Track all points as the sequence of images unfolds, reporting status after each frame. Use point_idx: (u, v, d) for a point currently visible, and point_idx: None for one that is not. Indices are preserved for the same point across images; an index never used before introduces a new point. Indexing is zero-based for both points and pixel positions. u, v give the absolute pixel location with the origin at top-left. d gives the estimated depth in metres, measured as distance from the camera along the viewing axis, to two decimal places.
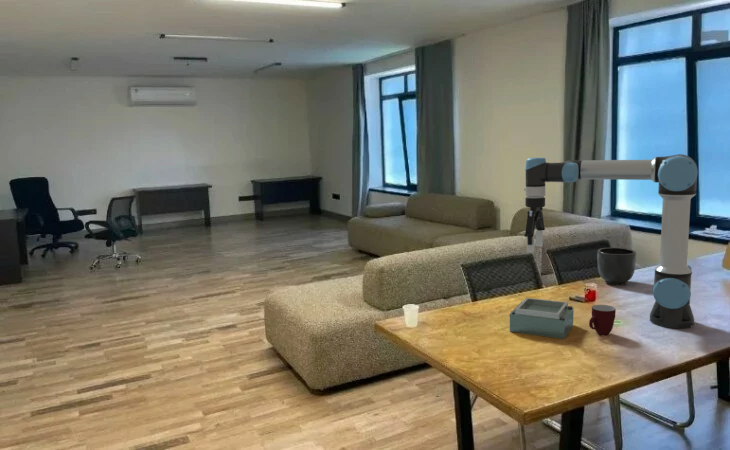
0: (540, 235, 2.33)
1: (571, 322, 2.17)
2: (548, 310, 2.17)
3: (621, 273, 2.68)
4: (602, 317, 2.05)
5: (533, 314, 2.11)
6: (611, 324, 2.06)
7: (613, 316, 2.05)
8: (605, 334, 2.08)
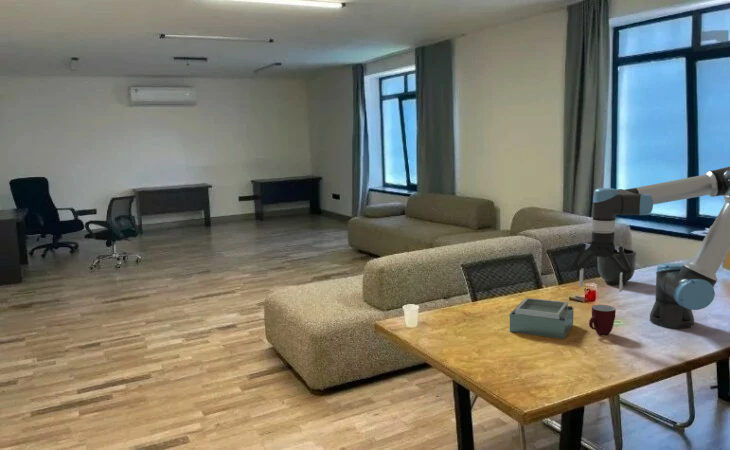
0: (620, 278, 2.03)
1: (571, 322, 2.17)
2: (548, 310, 2.17)
3: None
4: (602, 317, 2.05)
5: (533, 314, 2.11)
6: (611, 324, 2.06)
7: (613, 316, 2.05)
8: (605, 334, 2.08)
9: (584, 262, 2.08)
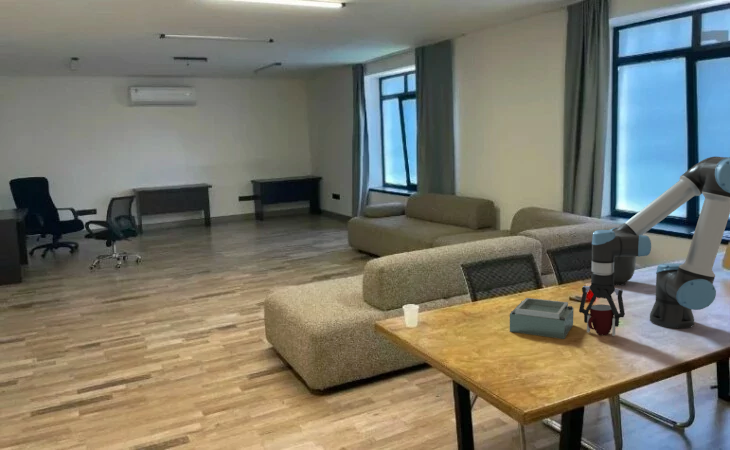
0: None
1: (571, 322, 2.17)
2: (548, 310, 2.17)
3: (621, 273, 2.68)
4: (600, 316, 2.05)
5: (533, 314, 2.11)
6: (610, 323, 2.06)
7: (611, 315, 2.06)
8: (605, 333, 2.08)
9: (589, 306, 2.08)
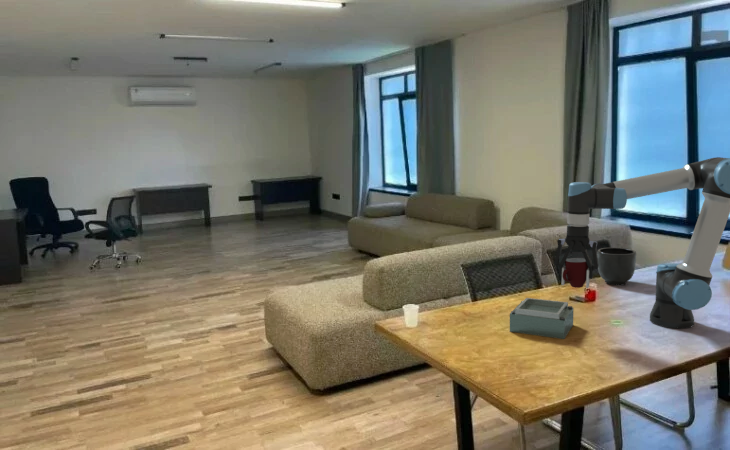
0: None
1: (571, 322, 2.17)
2: (548, 310, 2.17)
3: (621, 273, 2.68)
4: (575, 268, 2.06)
5: (533, 314, 2.11)
6: (584, 275, 2.07)
7: (586, 267, 2.07)
8: (579, 286, 2.09)
9: (564, 259, 2.09)
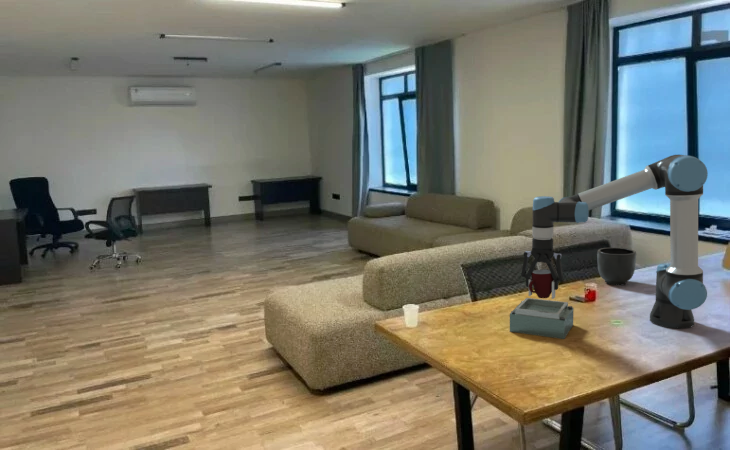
0: (552, 286, 2.13)
1: (571, 322, 2.17)
2: (548, 310, 2.17)
3: (621, 273, 2.68)
4: (540, 280, 2.13)
5: (533, 314, 2.11)
6: (550, 286, 2.14)
7: (551, 278, 2.13)
8: (545, 297, 2.15)
9: (530, 270, 2.16)
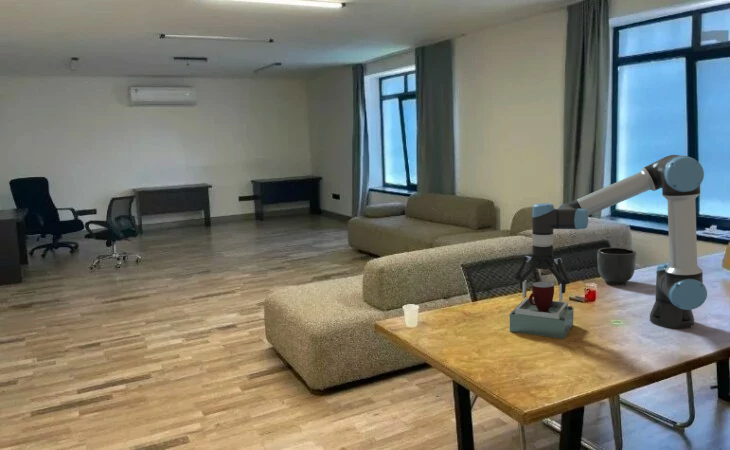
0: None
1: (571, 322, 2.17)
2: (548, 310, 2.17)
3: (621, 273, 2.68)
4: (541, 293, 2.14)
5: (533, 314, 2.11)
6: (550, 300, 2.14)
7: (551, 292, 2.14)
8: (545, 309, 2.16)
9: (526, 274, 2.17)
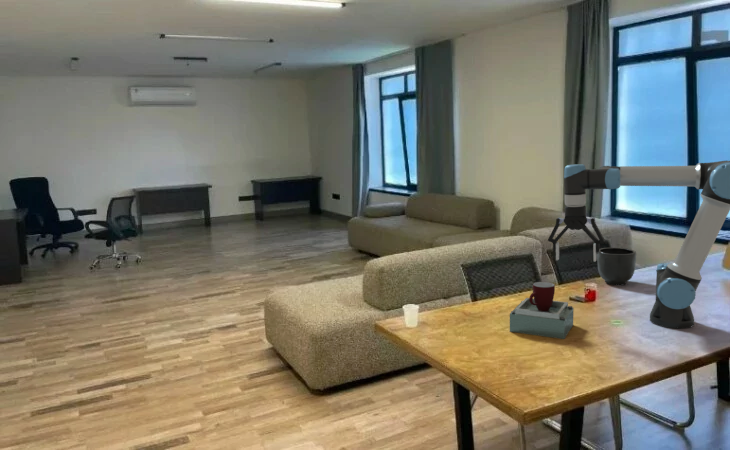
0: None
1: (571, 322, 2.17)
2: (548, 310, 2.17)
3: (621, 273, 2.68)
4: (541, 293, 2.14)
5: (533, 314, 2.11)
6: (550, 300, 2.14)
7: (552, 292, 2.14)
8: (545, 309, 2.16)
9: (559, 236, 2.19)
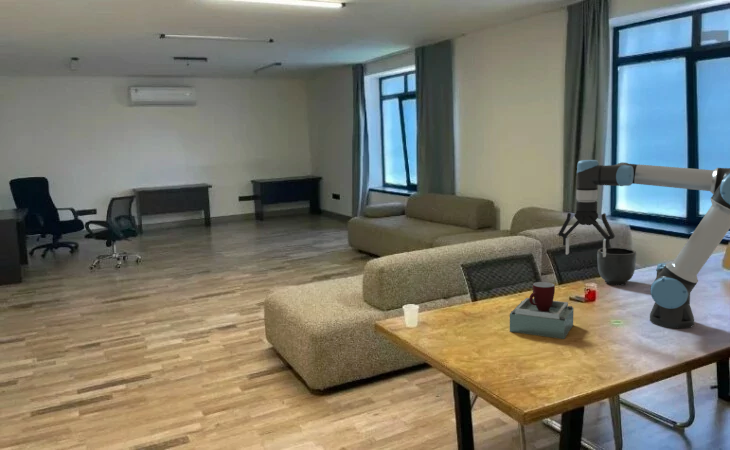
0: (603, 244, 2.16)
1: (571, 322, 2.17)
2: (548, 310, 2.17)
3: (621, 273, 2.68)
4: (541, 293, 2.14)
5: (533, 314, 2.11)
6: (550, 300, 2.14)
7: (552, 292, 2.14)
8: (545, 309, 2.16)
9: (569, 230, 2.20)
